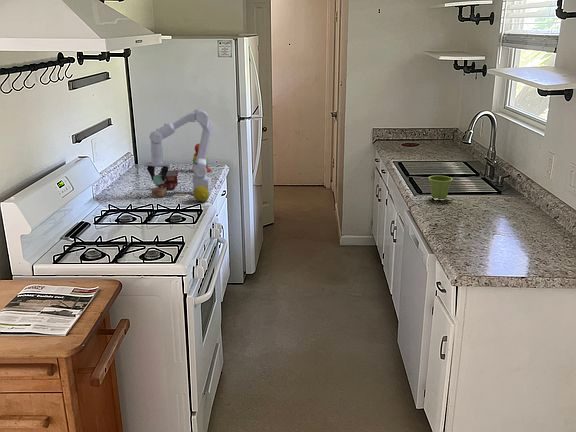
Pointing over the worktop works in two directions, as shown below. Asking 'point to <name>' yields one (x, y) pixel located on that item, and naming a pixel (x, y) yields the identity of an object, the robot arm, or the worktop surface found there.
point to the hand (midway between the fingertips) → (158, 180)
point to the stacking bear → (196, 157)
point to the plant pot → (440, 186)
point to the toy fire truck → (169, 180)
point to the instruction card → (181, 195)
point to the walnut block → (159, 192)
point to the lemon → (201, 193)
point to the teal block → (157, 179)
